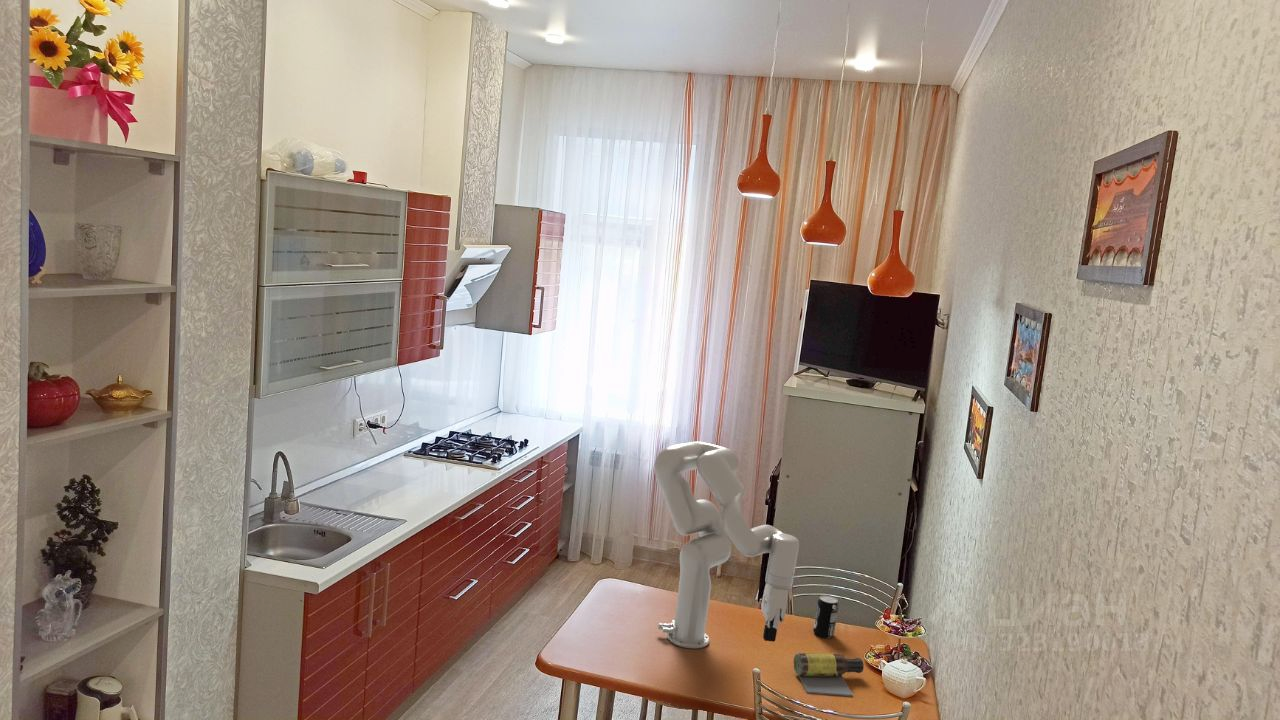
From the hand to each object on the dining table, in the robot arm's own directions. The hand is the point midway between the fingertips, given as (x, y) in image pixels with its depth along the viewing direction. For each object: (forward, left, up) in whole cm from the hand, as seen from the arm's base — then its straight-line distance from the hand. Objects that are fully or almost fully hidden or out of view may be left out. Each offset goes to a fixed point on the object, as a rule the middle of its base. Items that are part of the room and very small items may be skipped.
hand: (768, 639), depth 259 cm
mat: (+17, -1, -11) cm, 20 cm away
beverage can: (+25, +31, -11) cm, 41 cm away
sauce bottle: (+9, +1, -7) cm, 11 cm away
